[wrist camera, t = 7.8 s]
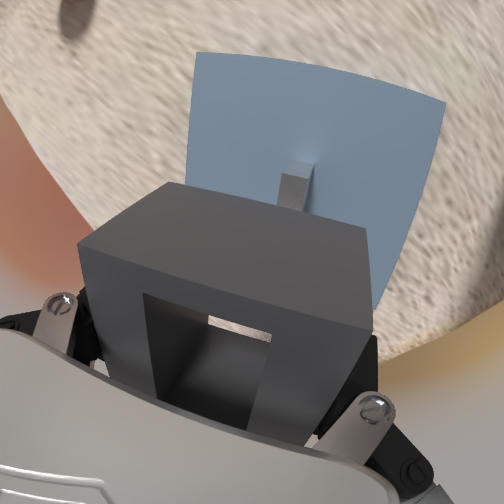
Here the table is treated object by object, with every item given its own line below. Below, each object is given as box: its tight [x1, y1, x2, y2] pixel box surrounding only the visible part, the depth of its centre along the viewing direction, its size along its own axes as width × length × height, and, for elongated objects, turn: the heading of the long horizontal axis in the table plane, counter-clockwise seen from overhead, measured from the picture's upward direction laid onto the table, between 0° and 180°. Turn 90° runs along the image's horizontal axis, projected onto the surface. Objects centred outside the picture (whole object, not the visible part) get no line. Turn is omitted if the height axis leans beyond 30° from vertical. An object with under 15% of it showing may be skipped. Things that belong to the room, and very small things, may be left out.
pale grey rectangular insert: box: [276, 158, 314, 212], centre depth 21 cm, size 2×4×4 cm, turn 172°
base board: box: [185, 52, 446, 310], centre depth 24 cm, size 18×18×2 cm
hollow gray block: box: [77, 182, 373, 447], centre depth 11 cm, size 7×7×5 cm
